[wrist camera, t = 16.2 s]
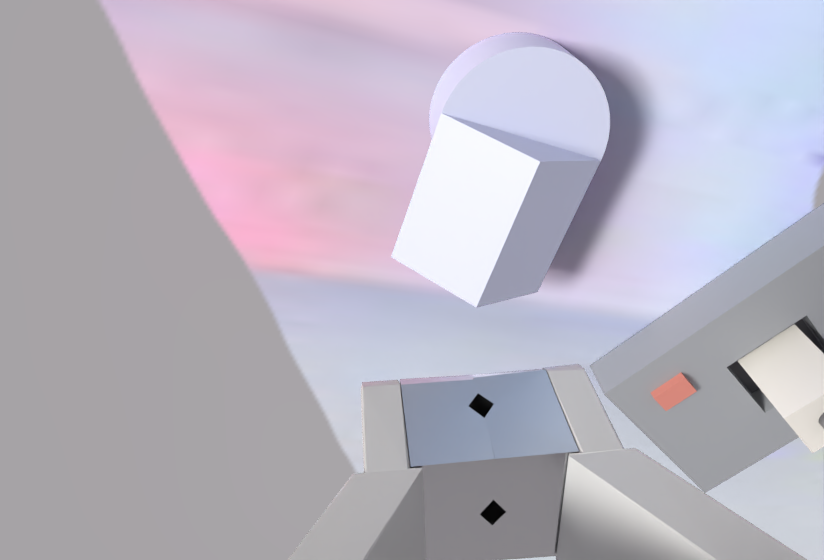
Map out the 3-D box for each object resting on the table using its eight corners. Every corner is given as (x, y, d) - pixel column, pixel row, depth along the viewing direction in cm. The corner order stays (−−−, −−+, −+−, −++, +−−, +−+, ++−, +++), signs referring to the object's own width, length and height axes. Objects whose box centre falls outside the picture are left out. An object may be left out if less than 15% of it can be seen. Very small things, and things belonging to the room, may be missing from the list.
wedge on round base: (524, 263, 43) (617, 61, 37) (552, 324, 37) (668, 97, 31) (387, 229, 41) (462, 9, 34) (395, 289, 35) (486, 37, 29)
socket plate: (855, 180, 42) (896, 205, 39) (931, 313, 48) (971, 344, 45) (589, 366, 47) (607, 400, 44) (687, 463, 54) (708, 499, 50)
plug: (783, 313, 45) (860, 390, 38) (809, 348, 47) (886, 428, 40) (728, 349, 46) (793, 430, 40) (756, 382, 48) (822, 465, 42)
